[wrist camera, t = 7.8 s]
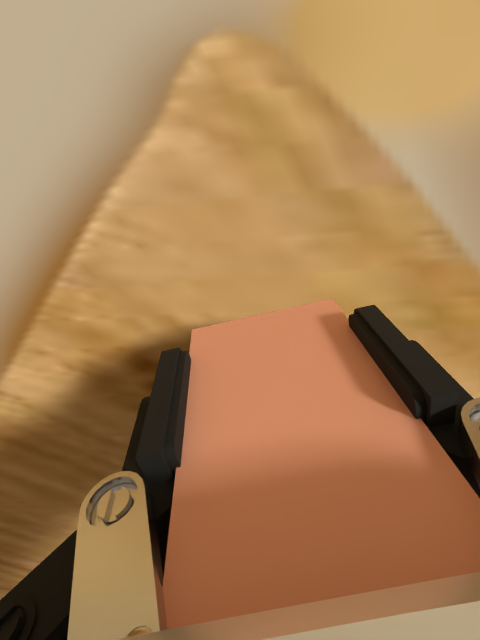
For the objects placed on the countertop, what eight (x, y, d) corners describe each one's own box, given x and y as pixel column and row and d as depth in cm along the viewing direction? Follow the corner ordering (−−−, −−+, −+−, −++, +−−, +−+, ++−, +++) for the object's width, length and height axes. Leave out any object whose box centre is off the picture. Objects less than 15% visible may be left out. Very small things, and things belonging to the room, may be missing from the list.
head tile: (206, 373, 13) (194, 758, 5) (192, 329, 12) (147, 719, 4) (336, 345, 13) (544, 699, 5) (332, 298, 12) (586, 643, 4)
